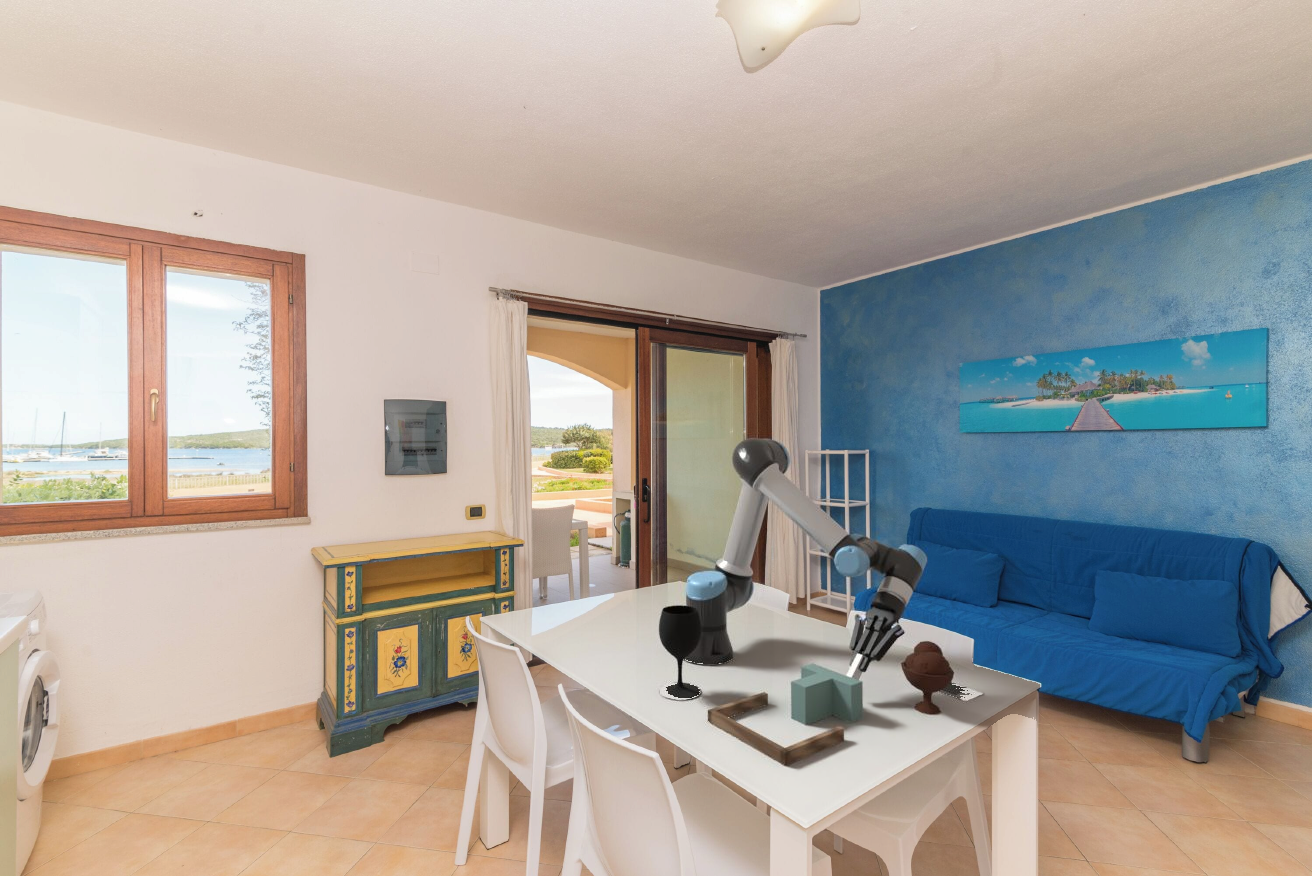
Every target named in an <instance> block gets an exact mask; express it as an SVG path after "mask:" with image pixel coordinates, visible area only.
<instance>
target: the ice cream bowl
mask: <svg viewBox="0 0 1312 876" xmlns="http://www.w3.org/2000/svg"><path fill="white" fill-rule="evenodd" d="M900 665H901V669H902V672H903V674H904V676H905V678H906V680H907V681H908V682H909V684H910V685H911V686H913V687H914V688H915V689H917V690H919V691H921V692H922V694H923V695H922V696H923V697H922V698H923V699H922V701H919V702H917V703H915V704H914V709H915V710H916V711H918V712H919V713H921V714H927V715H930V716H931V715H939V714H940V713H941V712H942V711H941V709H940V707H939V706H938V705H937V704H936V703H934V702H933V700H932V696H933V694H934V693H939V692H938V691H940V690H942V689H944V688H945V687H947V686H948V685H949V684H950V683H951V682H953V680H954V674H955V670H953V669H952V667H951V666H950V663H949V661H948V660H947V659H946V657H945V656H944V655H943V650H942V648H941V647H940V646H939V645H938V644H936V643H935V642H933V641H928V640H924V641H923V640H922V641H919V642H918V643H917V644H916V645H915V646H914V648H913V652H912V653H910V654H909V655H907V656H906V658H905V659H904V661H902V662H901V663H900Z"/></svg>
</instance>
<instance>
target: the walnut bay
mask: <svg viewBox="0 0 1312 876" xmlns="http://www.w3.org/2000/svg"><path fill="white" fill-rule="evenodd" d="M764 705H765V706H768V705H769V694H768V693H767V692H765V691H763V692H760V693H757V694H754V695H751V696H748V697H747V696H746V697H744V698H741V699H737V700H735V701H732V702H731V701H730V702H728V703H726V704H722V705H719V706H716V707H712V708H710V709H709V708H708V709H707V722H708V721H709V722H710V723H709V722H708V723H709V724H711V723H712V724H711V725H713V724H714V725H715V726H714V725H713V726H714V727H716V726H717V727H716V728H718V727H719V728H718V729H720V730H721V729H722V731H723V730H724V731H723V732H725V731H726V732H725V733H727V734H728V733H729V735H730V734H731V736H732V737H734V738H735V737H736V738H735V739H737V738H738V739H737V740H739V741H741V742H743V743H744V744H747V745H748V746H749V747H751V748H753V749H754V750H757V751H758V752H760V753H761V754H764V755H766V756H767V757H769V758H770V759H771V760H774V761H776V762H778V763H779V764H781V765H783V766H788V765H790V764H793V763H795V762H798V761H800V760H803V759H805V758H807V757H809V756H812V755H814V754H817V753H819V752H821V751H824V750H825V749H828V748H830V747H833V746H835V745H837V744H840V743H842V742H844V741H845V729H844V727H842V726H841V725H838V726H836V727H833V728H830V729H828V730H825V731H823V732H821V733H818V734H816V735H813V736H811V737H808V738H806V739H804V740H801V741H799V742H796V743H794V744H791V745H788V746H786V747H784V746H782V745H781V744H778V743H776V742H774V741H773V740H771V739H770V738H767V737H766V736H764V735H762V734H760V733H758V732H756V731H754V730H752V729H750V728H748V727H747V726H746V725H743V724H742V723H740V722H738V721H735V720H734V719H732V717H731V716H733V717H735V716H734V715H736V716H738V715H737V714H739V715H741V714H740V713H742V712H745V713H747V711H748V712H750V710H751V711H752V709H753V710H755V709H759V708H762V707H765V706H764ZM761 706H762V707H761ZM742 714H743V713H742ZM728 717H730V718H728Z"/></svg>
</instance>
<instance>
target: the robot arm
mask: <svg viewBox="0 0 1312 876" xmlns="http://www.w3.org/2000/svg"><path fill="white" fill-rule="evenodd" d="M731 457H732V460H731V461H732V465H733V466H732V467H733V468H734V471H735V472H736V473H737V474H738V476H739V479H740V481H741V483H742V487H741V489H740V494H739V497H738V500H737V504H736V505H737V506H736V508H735V512H734V516H733V519H732V523H731V526H730V529H729V534H728V537H727V541H726V545H725V548H724V553H723V556H722V558H720V559H717V560H716V563H715V566H714V570H703V571H697V572H694V573H692V574H691V575H689V576H688V578H687V579H686V587H685V604H686V605H685V606H691V607H694V608H696V609H697V610H698V613H699V616H700V621H701V637H700V641H699V643H698V645H697V647H696V648H695V650H694V651H693V652H692V653H691V654H689V655H688V656H687V657H685V658H684V659H686V660H688V661H692V662H695V663H703V664H717V665H720V664H719V663H723V664H726V663H728V662H727V661H729V660H731V659H732V660H733V659H734V650H733V649H734V648H733V645H732V642H731V640H730V636H729V633H728V628H727V627H728V626H727V625H728V624H727V622H728V621H727V619H728V618H727V617H728V614H727V613H730V612H731V611H734V610H737V609H739V608H742V607H743V606H745V605H746V604H747V603H748V602H749V601H750V600H751V598H752V596H753V595H754V588H755V587H754V581H753V579H752V578H753V575H754V570H753V569H752V567H751V563H752V560H753V556H754V553H755V549H756V546H757V543H758V539H759V535H760V531H761V528H762V524H763V520H764V517H765V514H766V510H767V506H768V503H769V500H770V501H771V502H772V503H773V504H774V505H775V506H776V507H777V508H778V509H779V510H781V512H782V513H783V514H784V515H786V516H787V517H788V518H789V520H791V521H792V522H793V523H794V524H795V525H796V526H797V527H798V529H800V530H801V531H803V533H805V534H806V535H807V536H808V537H809V539H811V540H812V541H813V543H815V544H816V545H818V546H819V548H820V549H822V551H823V552H825V553H826V555H828V556H829V557H830V558H831V559H832V560H833V562H834V563H833V564H834V567H835V569H836V570H837V572H838V573H839V574H841V575H842V576H844V577H846V578H857V577H860V576H863V575H864V574H866V573H867V572H868V571H871V570H872V571H873V572H876V573H878V574H880V575H883V576H884V577H883V579H882V581H881V583H880V585H879V586H878V588H877V592H876V593H874V594H875V595H874V597H873V598H872V600H871V602H870V608H869V609H868V610H867V611H865V614H862V615H860V614H859V613H858V614H857V613H856V614H855V615H854V627H853V630H852V633H851V634H852V636H851V638H850V643H849V647H848V648H849V649H850V650H851V652H852V653H853V655H852V656H851V657H852V658H851V660H850V662H849V668H848V671H847V673H846V674H845V675H846V676H848V677H851V678H854V679H857V680H859V681H860V678H861V676H862V674H863V673H866V672H867V670H868V668H869V666H870V664H871V662H872V661H876V662H880V661H882V659H883V658H884V656H885V655H886V654H887V653H888V651H889V650H890V649H891V647H893V645H894V644H895V643H896V641H897V640H898V639H899V638H900V637H901V636H903V635H904V634H905V630H904V629H903V627H902V626H901V624H900V620H901V618H902V616H903V615H904V612H905V610H906V607H907V605H908V604H909V602H910V599H911V597H912V595H913V593H914V591H915V589H916V587H917V585H918V583H919V581H920V579H921V577H922V575H923V573H924V571H925V570H924V569H925V568H926V565H927V563H928V557H927V555H926V553H925V552H924V550H922V549H921V548H919V547H918V546H915V545H913V544H906V543H904V544H901V545H900V546H899V547H898V548H894V547H891V546H889V545H886V544H884V543H881V542H879V541H878V540H877V541H876V540H874V539H872V538H869V537H868V536H866V535H861V534H859V533H852V534H850V533H849V532H847V530H845V529H844V528H843V527H842V526H841V525H840V524H839V523H837V522H836V521H835V520H834V519H833V518H832V517H831V516H830V515H829V514H828V513H826V511H825V510H823V509H822V508H821V507H820V506H819V505H818V504H817V503H816V502H815V501H814V500H812V499H811V498H810V497H809V496H808V495H807V494H806V493H805V492H803V490H802V489H800V488H799V487H798V486H797V485H796V484H795V483H793V481H791V480H790V478H789V477H787V476H786V475H785V474H786V472H787V471H788V469H789V467H790V464H791V463H790V462H791V460H790V459H791V458H790V454H789V451H788V449H787V447H786V446H785V445H784V444H783V443H782V442H780V441H778V440H775V439H772V438H757V437H749V438H745V439H744V440H741V441H740V442H739V443H738V444H737V445H736V446H735V448H734V449H733V453H732V456H731ZM732 660H731V661H732ZM725 662H726V663H725ZM729 662H730V661H729Z"/></svg>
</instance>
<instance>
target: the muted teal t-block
mask: <svg viewBox="0 0 1312 876" xmlns="http://www.w3.org/2000/svg"><path fill="white" fill-rule="evenodd" d="M846 675H847V674H843V673H840V672H837V671H835V670H831V669H828V668H826V667H823V666H820V665H818V664H815V663H809V664H806V665H802V666H801V667H800V678H798V679H795V680H792V681H791V682H790V711H791V712H790V717H791V719H792V720H793V721H795V722H798V723H800V724H803V725H805V726H808V725H809V724H812V723H815V722H817V721H819V720H823V719H825V718H827V717H830V716H835V717H837V718H839V719H841V720H844V721H846V722H848V723H850V724H853V723H854V722H857V721H859V720H862V719H863V718H864V715H863V714H864V713H863V711H864V708H863V705H864V703H863V699H864V697H863V695H864V694H863V693H864V692H863V690H864V689H863V681H862V680H860V679H859V680H857V679H854V678H851V677H848V676H846Z"/></svg>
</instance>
